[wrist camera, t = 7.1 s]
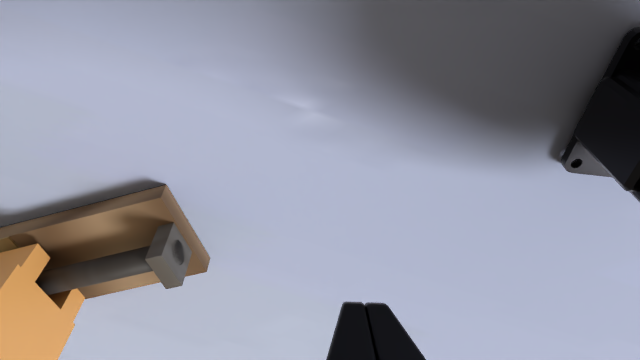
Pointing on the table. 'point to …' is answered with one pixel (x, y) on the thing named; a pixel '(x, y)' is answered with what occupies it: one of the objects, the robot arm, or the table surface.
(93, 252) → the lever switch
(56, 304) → the orange slab
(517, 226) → the table surface
